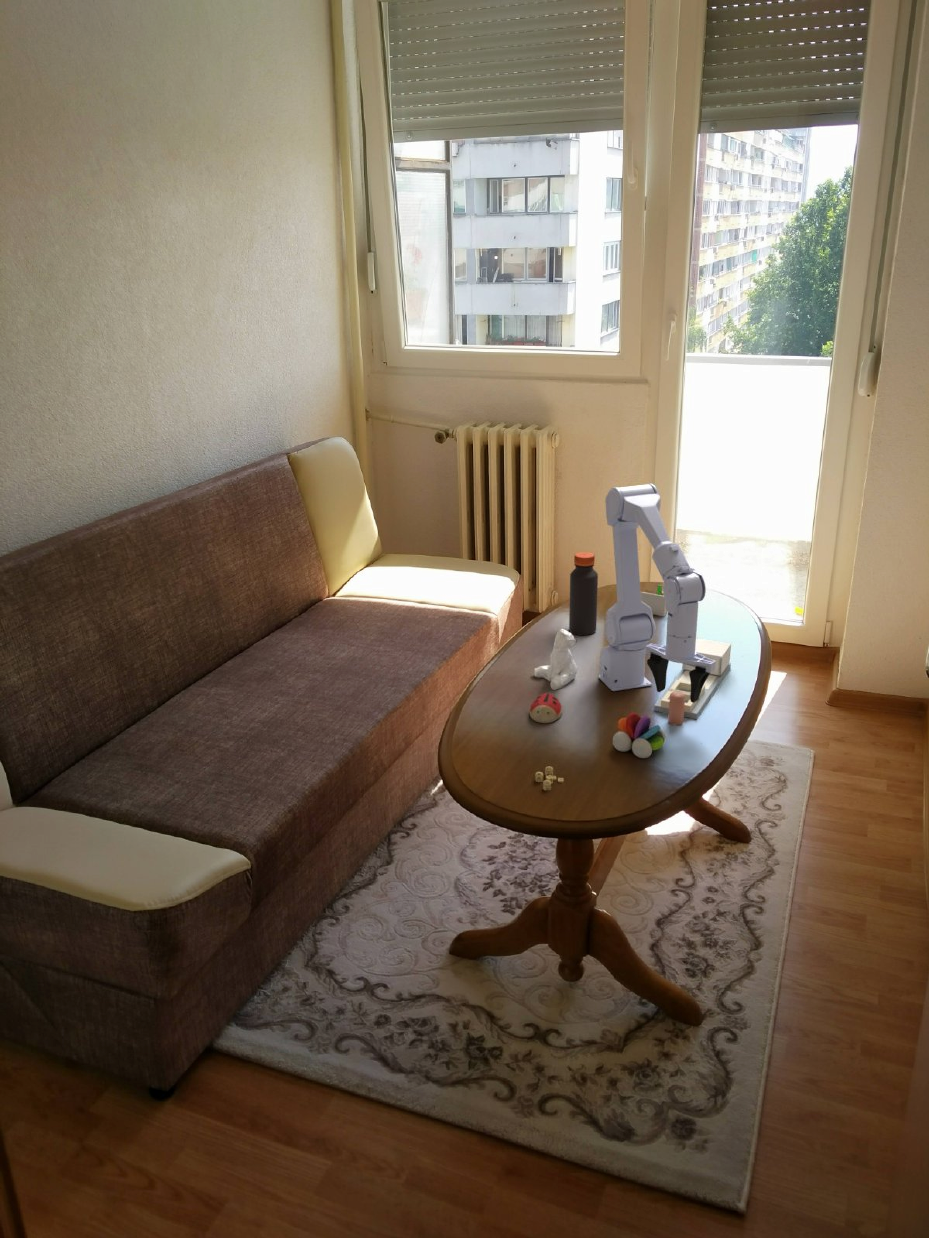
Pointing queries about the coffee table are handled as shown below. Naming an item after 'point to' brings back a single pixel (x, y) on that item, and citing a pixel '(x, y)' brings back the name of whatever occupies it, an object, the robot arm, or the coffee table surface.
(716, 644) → the block
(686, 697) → the board
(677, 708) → the peg
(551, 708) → the ladybug figurine
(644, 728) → the rainbow fan toy
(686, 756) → the coffee table surface
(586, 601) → the bottle
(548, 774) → the dice set
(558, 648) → the white creature statuette
